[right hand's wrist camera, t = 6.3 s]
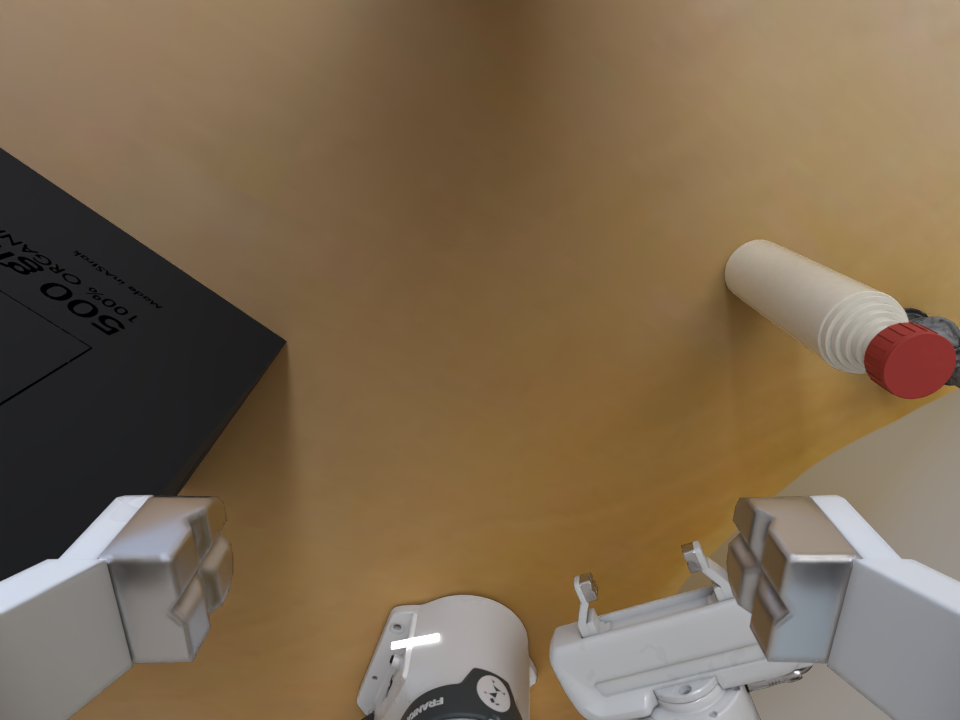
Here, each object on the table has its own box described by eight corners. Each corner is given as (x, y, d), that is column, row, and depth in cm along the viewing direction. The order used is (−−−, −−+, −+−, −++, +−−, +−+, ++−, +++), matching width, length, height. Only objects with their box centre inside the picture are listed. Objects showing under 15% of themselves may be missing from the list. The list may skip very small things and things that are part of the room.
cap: (926, 383, 39) (949, 397, 37) (857, 387, 39) (877, 401, 37) (938, 319, 37) (963, 330, 35) (867, 323, 37) (889, 335, 35)
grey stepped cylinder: (948, 329, 59) (1057, 380, 48) (898, 376, 61) (992, 436, 50) (906, 292, 58) (1007, 336, 47) (856, 342, 60) (942, 395, 49)
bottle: (783, 298, 59) (955, 405, 37) (722, 302, 59) (858, 411, 38) (790, 237, 57) (975, 314, 35) (726, 241, 57) (873, 320, 36)
